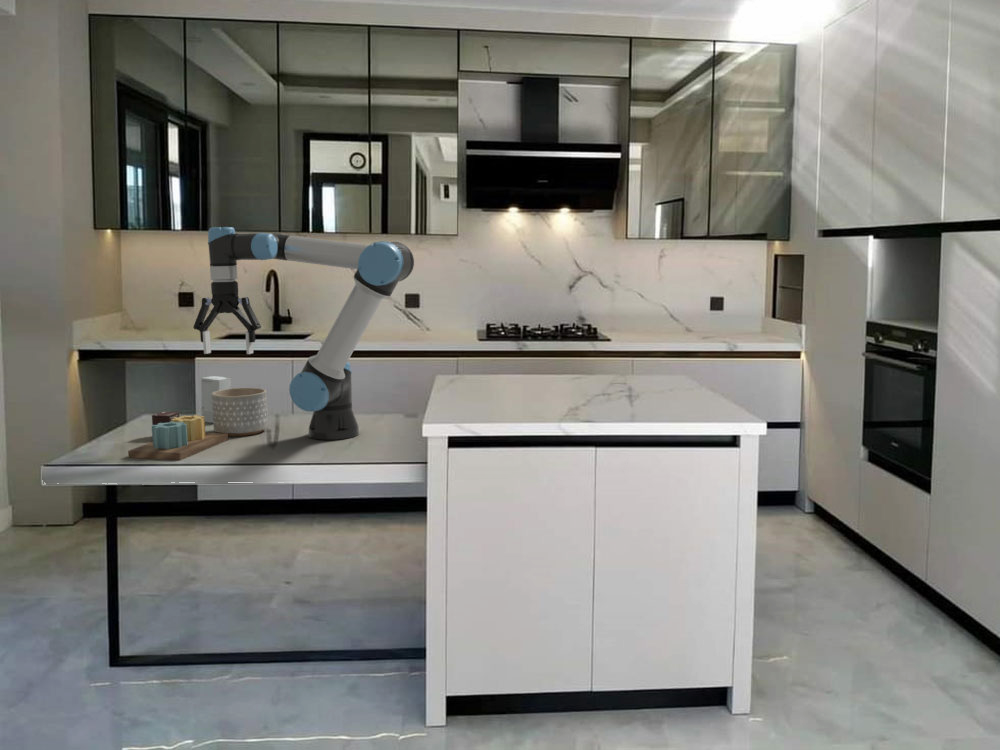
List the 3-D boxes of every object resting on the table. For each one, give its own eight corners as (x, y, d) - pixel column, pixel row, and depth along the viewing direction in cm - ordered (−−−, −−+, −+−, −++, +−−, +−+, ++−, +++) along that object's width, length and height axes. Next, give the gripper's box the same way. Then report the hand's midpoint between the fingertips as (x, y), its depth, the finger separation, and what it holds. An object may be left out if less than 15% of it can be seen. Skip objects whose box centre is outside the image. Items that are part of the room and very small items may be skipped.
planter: (211, 429, 296) (208, 390, 294) (263, 424, 302) (261, 386, 301) (217, 439, 281) (214, 397, 279) (272, 434, 287) (270, 393, 286)
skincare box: (201, 422, 308) (198, 377, 306) (214, 418, 313) (212, 375, 311) (220, 424, 304) (217, 379, 302) (233, 420, 309) (231, 376, 307)
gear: (193, 442, 267) (191, 422, 266) (175, 449, 259) (174, 428, 258) (165, 441, 269) (163, 421, 268) (147, 448, 260) (145, 427, 260)
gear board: (227, 440, 280) (226, 417, 279) (180, 460, 255) (179, 435, 254) (180, 438, 283) (178, 415, 282) (128, 457, 258) (126, 433, 257)
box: (170, 439, 282) (169, 415, 281) (152, 438, 283) (151, 415, 282) (181, 435, 288) (179, 412, 287) (163, 434, 289) (162, 411, 288)
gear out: (207, 434, 279) (205, 414, 278) (202, 440, 270) (201, 420, 269) (175, 435, 277) (174, 415, 276) (170, 442, 268) (169, 421, 267)
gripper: (269, 279, 271) (273, 352, 274) (192, 280, 276) (196, 351, 279) (258, 281, 264) (262, 355, 267) (178, 281, 269) (183, 354, 272)
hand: (228, 353), depth 273 cm, fingers open, 13 cm apart
